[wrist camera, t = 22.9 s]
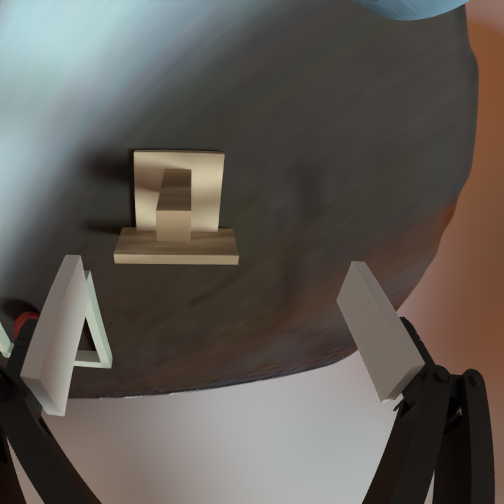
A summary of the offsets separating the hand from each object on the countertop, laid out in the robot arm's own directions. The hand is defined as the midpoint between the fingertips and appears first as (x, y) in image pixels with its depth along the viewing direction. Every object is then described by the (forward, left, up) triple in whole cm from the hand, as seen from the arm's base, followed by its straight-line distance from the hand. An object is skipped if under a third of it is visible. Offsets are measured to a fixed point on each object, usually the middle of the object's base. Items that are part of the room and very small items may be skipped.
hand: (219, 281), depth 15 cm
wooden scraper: (+6, -3, -24) cm, 25 cm away
